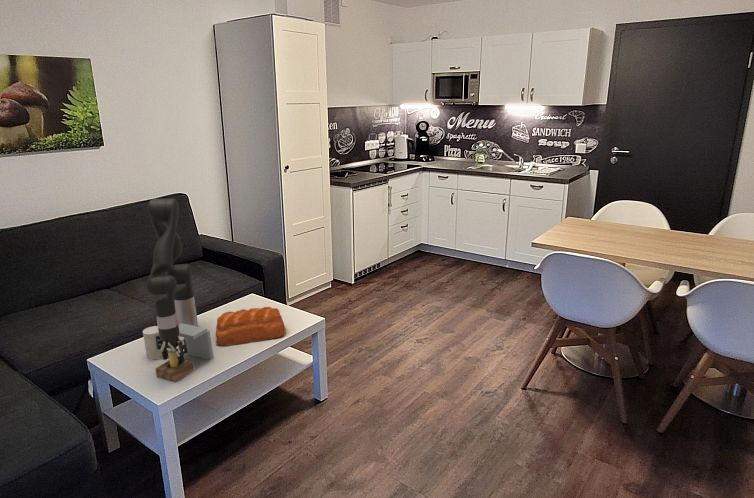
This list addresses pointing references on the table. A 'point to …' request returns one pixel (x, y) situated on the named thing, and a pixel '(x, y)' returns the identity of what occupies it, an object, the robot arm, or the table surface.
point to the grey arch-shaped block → (196, 340)
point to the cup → (151, 343)
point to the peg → (173, 359)
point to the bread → (249, 326)
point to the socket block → (174, 370)
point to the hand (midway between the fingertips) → (173, 361)
